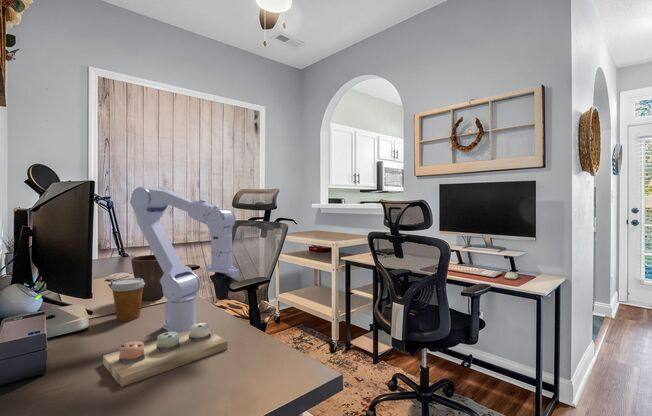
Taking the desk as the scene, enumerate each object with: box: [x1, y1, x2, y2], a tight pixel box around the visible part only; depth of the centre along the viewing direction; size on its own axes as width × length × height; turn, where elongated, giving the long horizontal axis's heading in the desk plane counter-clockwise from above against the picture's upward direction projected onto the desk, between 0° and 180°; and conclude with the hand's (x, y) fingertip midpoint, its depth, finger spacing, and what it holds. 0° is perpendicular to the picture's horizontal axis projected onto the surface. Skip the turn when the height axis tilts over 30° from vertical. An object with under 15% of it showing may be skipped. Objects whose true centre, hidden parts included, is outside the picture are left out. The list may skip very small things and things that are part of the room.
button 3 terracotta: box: [118, 340, 145, 360], centre depth 75 cm, size 5×5×2 cm
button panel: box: [102, 330, 229, 388], centre depth 81 cm, size 14×24×3 cm, turn 137°
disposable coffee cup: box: [110, 277, 145, 322], centre depth 107 cm, size 10×10×12 cm
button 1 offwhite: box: [190, 322, 210, 338], centre depth 87 cm, size 5×5×2 cm
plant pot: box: [130, 254, 164, 301], centre depth 130 cm, size 15×15×16 cm
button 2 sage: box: [156, 331, 179, 348], centre depth 81 cm, size 5×5×2 cm
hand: (222, 299), depth 94 cm, fingers closed
